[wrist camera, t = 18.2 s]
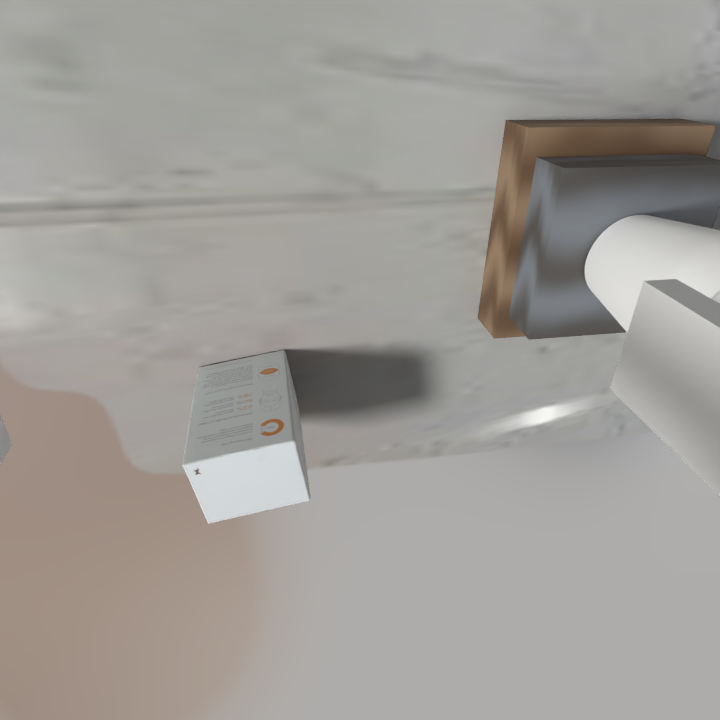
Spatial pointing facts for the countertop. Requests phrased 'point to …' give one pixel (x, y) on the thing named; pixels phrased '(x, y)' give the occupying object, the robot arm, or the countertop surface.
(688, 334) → the robot arm
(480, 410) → the countertop surface
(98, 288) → the countertop surface
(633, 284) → the cup
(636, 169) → the stepped display pedestal
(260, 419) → the small box
